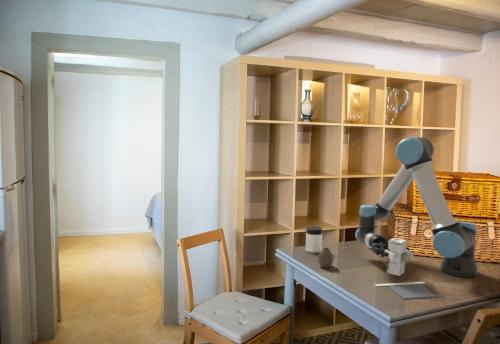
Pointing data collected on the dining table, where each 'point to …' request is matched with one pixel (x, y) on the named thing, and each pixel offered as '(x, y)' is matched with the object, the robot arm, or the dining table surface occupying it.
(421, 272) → the dining table surface
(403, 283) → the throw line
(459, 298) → the dining table surface
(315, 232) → the jar
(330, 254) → the vase
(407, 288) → the mat
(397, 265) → the syrup box
